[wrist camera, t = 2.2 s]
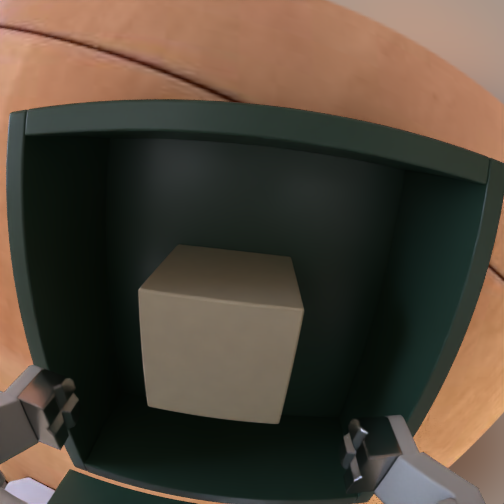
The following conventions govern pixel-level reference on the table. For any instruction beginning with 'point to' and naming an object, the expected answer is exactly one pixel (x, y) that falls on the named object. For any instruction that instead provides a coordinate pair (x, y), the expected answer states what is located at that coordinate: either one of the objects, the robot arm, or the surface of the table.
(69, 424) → the robot arm
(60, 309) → the chest
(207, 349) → the cube
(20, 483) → the game console
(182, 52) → the table surface
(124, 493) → the lid
